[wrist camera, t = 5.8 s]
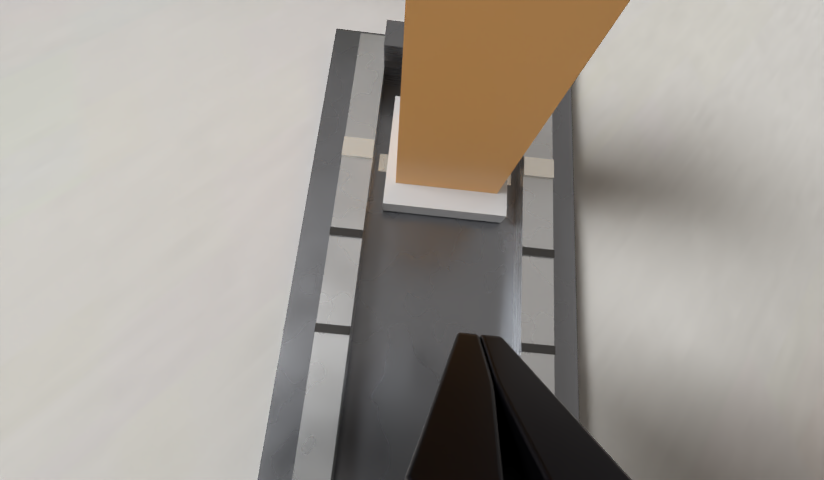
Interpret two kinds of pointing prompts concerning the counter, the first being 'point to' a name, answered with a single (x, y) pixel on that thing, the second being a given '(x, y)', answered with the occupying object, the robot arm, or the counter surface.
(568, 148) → the plate
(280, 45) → the counter surface
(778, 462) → the counter surface
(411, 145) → the fader tab
